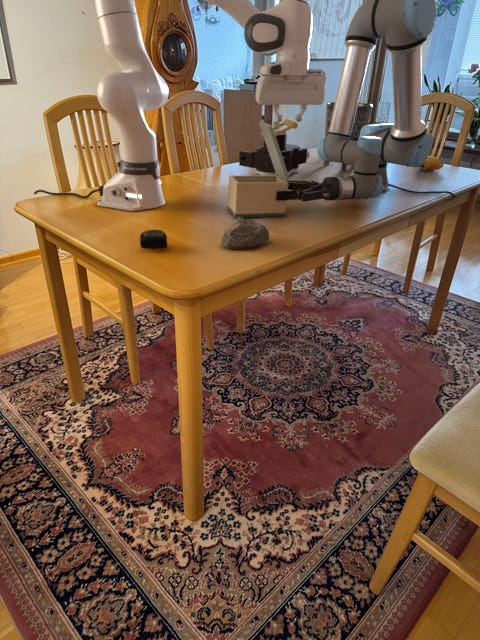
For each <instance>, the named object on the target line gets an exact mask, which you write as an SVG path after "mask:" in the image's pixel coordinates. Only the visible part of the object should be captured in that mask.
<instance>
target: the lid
mask: <svg viewBox="0 0 480 640" xmlns="http://www.w3.org/2000/svg"><path fill="white" fill-rule="evenodd" d="M258 125H259V128H260V131H261V135H262V137H263V141H264V140H265V143H266V146H267V149H268V151H269V154H270V157H271V160H272V163H273V166H274V169H275V171H276V174H277V175H279V177H281V178H282V179H284V180H286V181H289V180H291V179H290V175H288V172H287V169H286V166H285V163H284V160H283V157H282V154H281V151H280V148H279V145H278V142H277V139H276V136H277V135H279V134H281V133H283V132H286V131H287V132H288V131H290V130H292V129H294V130H296V129H298V127H299V124H298V122H297V121H295V120H294V121H293V120H291V119H288V118H285V119H284V120H282V122H280V123H279V125H277V126H275V127H272V125H271V124H269V123H267V122H264V121H260V122H258ZM284 126H286V127H284ZM282 127H284V128H285V129H283V130H281V131H279V132H277V133H274V130H275V129H277V128H282Z"/></svg>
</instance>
